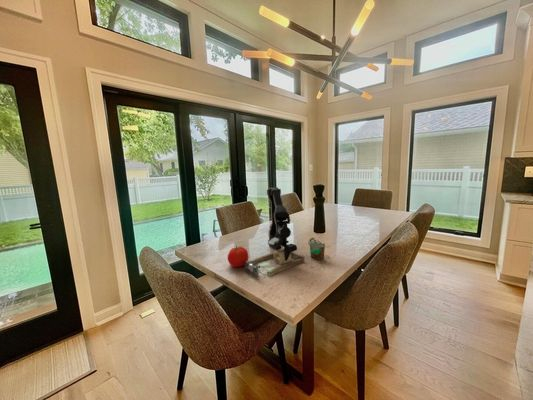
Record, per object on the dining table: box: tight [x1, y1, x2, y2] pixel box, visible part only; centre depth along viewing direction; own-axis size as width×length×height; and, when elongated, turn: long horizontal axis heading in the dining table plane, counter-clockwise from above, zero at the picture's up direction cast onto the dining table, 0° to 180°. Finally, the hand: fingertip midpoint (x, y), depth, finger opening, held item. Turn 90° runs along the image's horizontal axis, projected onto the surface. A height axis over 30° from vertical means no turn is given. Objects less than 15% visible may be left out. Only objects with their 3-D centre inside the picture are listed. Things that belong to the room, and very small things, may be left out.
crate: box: [272, 247, 292, 266], centre depth 126 cm, size 6×8×6 cm
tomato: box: [227, 245, 249, 268], centre depth 122 cm, size 12×12×10 cm
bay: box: [249, 251, 305, 277], centre depth 124 cm, size 18×26×3 cm
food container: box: [307, 237, 326, 261], centre depth 128 cm, size 12×6×10 cm, turn 21°
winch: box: [244, 259, 261, 278], centre depth 113 cm, size 13×6×6 cm, turn 37°
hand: (282, 258), depth 126 cm, fingers closed on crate, 6 cm apart
